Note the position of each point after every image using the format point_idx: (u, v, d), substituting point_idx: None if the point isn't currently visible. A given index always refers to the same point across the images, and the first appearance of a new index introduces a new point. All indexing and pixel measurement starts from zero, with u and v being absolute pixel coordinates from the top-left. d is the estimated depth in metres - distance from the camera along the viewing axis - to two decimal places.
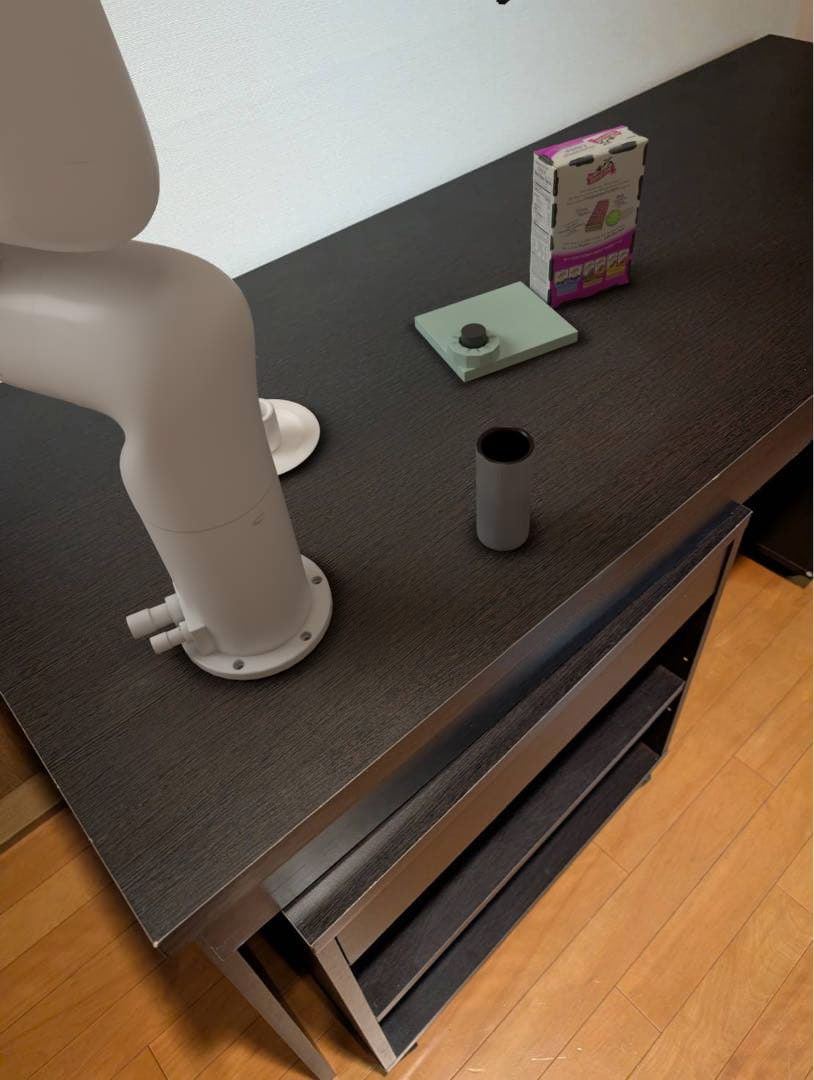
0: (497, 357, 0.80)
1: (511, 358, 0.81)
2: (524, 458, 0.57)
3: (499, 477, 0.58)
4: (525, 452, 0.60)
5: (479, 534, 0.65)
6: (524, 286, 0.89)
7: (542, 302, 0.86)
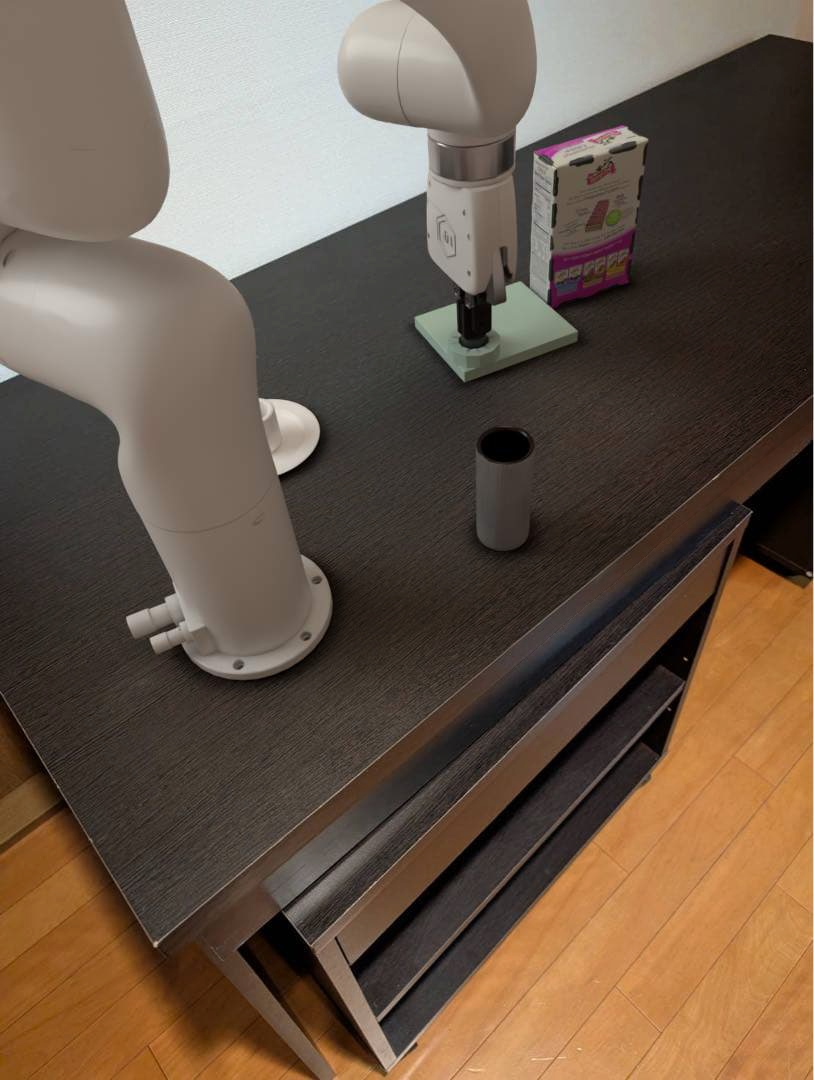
0: (497, 357, 0.80)
1: (511, 358, 0.81)
2: (524, 458, 0.57)
3: (499, 477, 0.58)
4: (525, 452, 0.60)
5: (479, 534, 0.65)
6: (524, 286, 0.89)
7: (542, 302, 0.86)
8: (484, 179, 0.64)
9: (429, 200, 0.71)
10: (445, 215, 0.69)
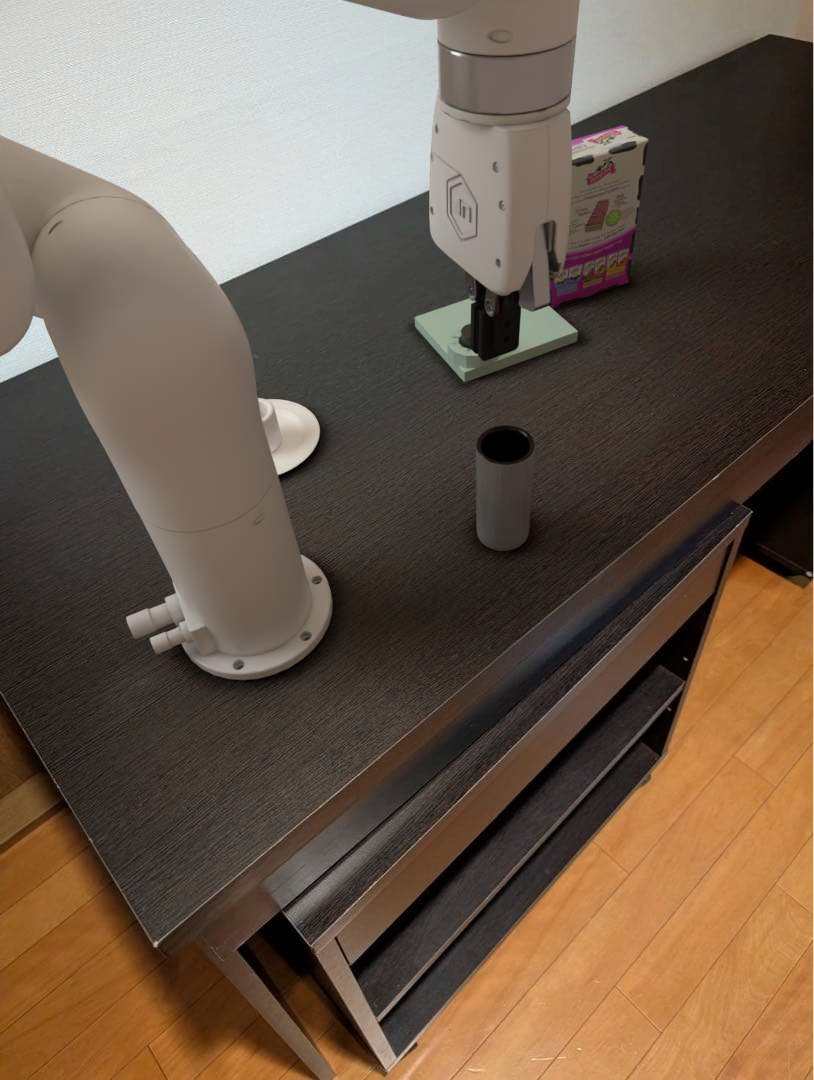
0: (497, 357, 0.80)
1: (511, 358, 0.81)
2: (524, 458, 0.57)
3: (500, 477, 0.58)
4: (525, 452, 0.60)
5: (479, 534, 0.65)
6: None
7: None
8: (528, 112, 0.41)
9: (435, 155, 0.48)
10: (462, 174, 0.46)
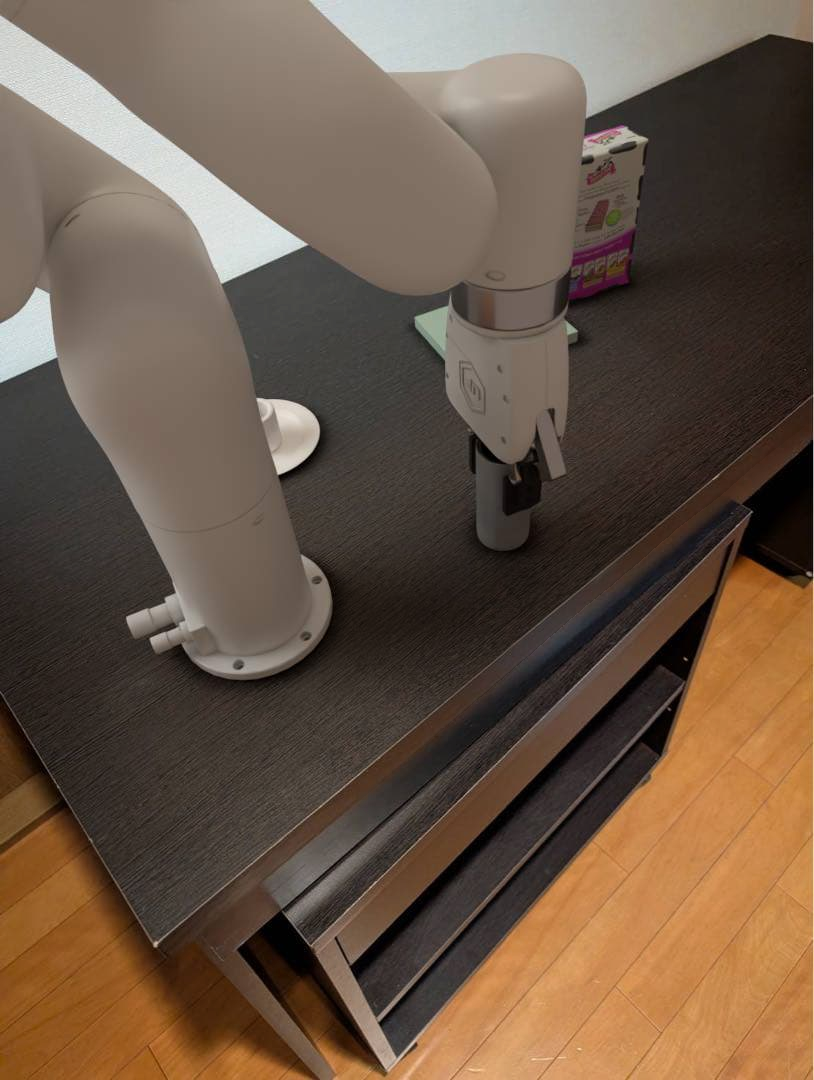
0: None
1: None
2: (524, 458, 0.57)
3: (499, 477, 0.58)
4: None
5: (479, 534, 0.65)
6: None
7: None
8: (528, 328, 0.47)
9: (449, 337, 0.54)
10: (472, 363, 0.51)
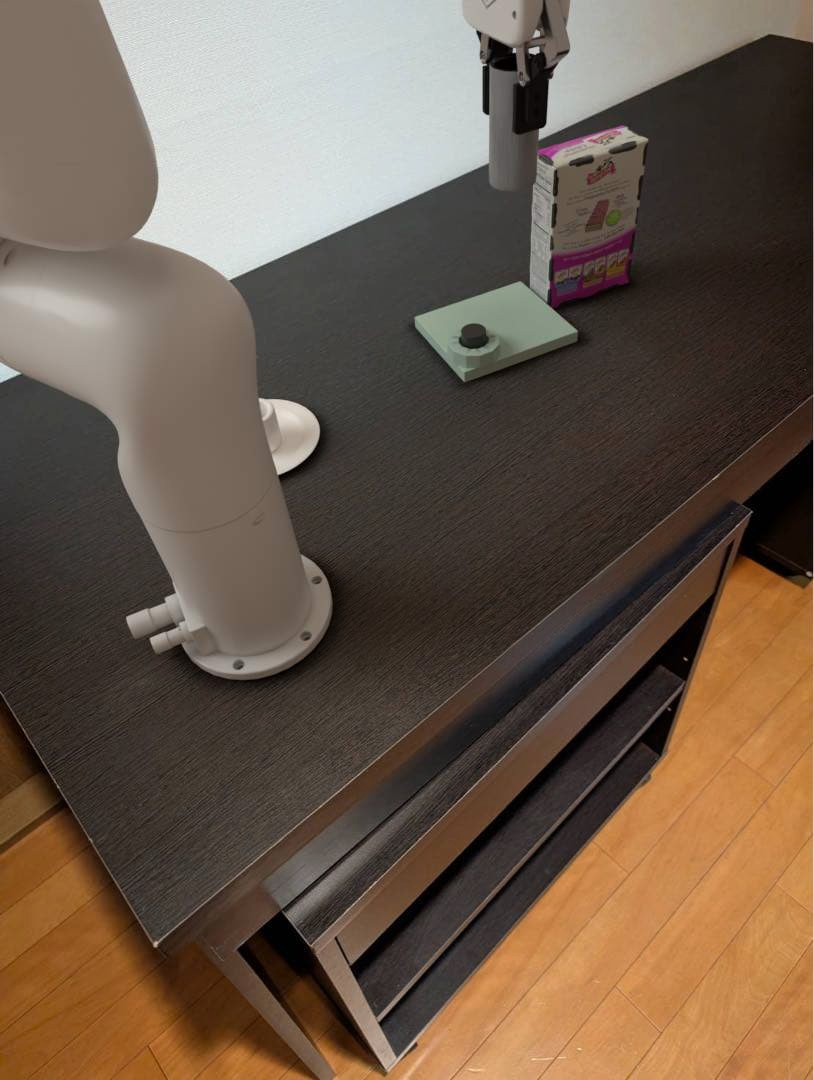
0: (497, 357, 0.80)
1: (511, 358, 0.81)
2: None
3: (511, 89, 0.65)
4: None
5: (491, 178, 0.72)
6: (524, 286, 0.89)
7: (542, 302, 0.86)
8: None
9: None
10: None
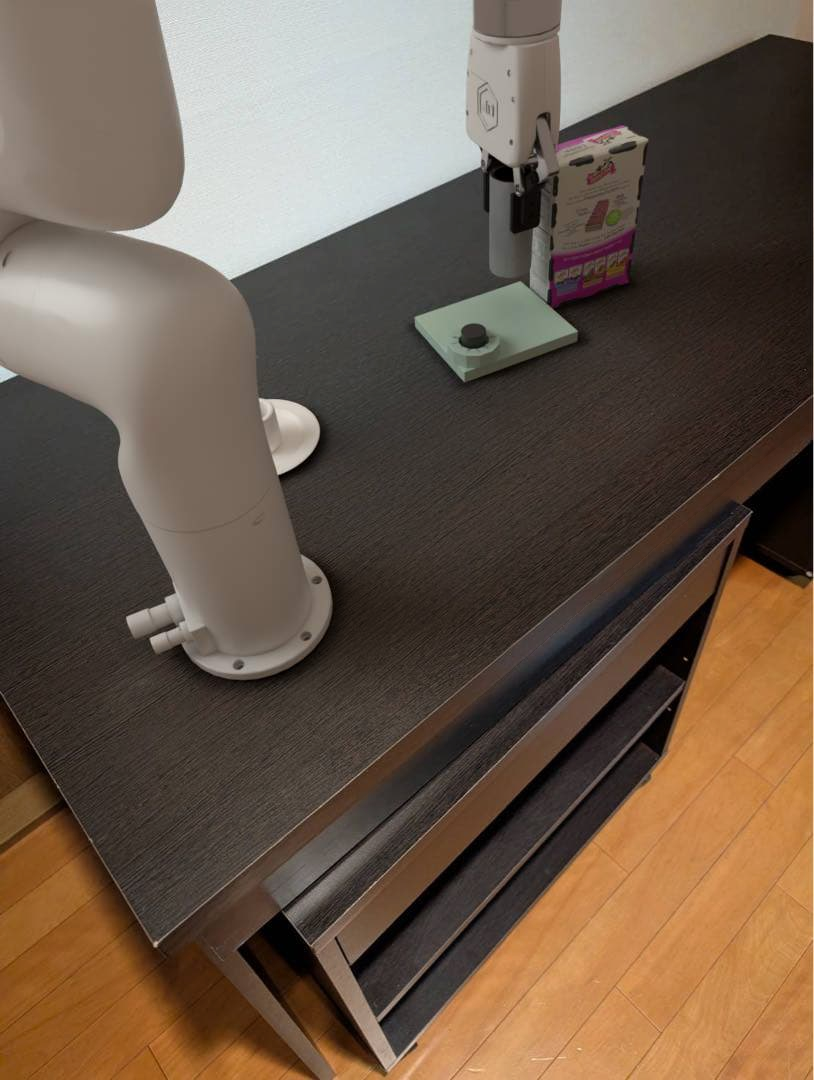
0: (497, 357, 0.80)
1: (511, 358, 0.81)
2: None
3: (508, 196, 0.75)
4: None
5: (491, 266, 0.82)
6: (524, 286, 0.89)
7: (542, 302, 0.86)
8: (530, 35, 0.63)
9: (470, 72, 0.70)
10: (487, 82, 0.68)
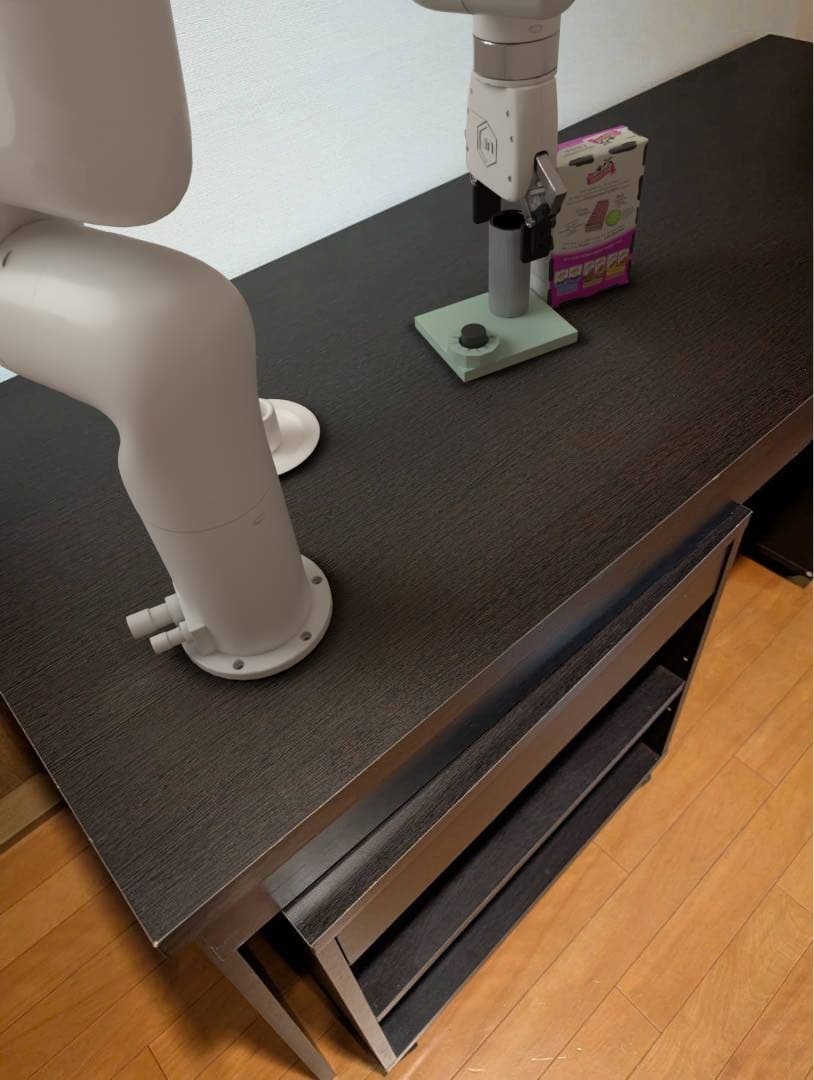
0: (497, 357, 0.80)
1: (511, 358, 0.81)
2: None
3: (507, 243, 0.78)
4: None
5: (490, 306, 0.85)
6: None
7: (542, 302, 0.86)
8: (528, 78, 0.65)
9: (470, 110, 0.73)
10: (487, 121, 0.70)
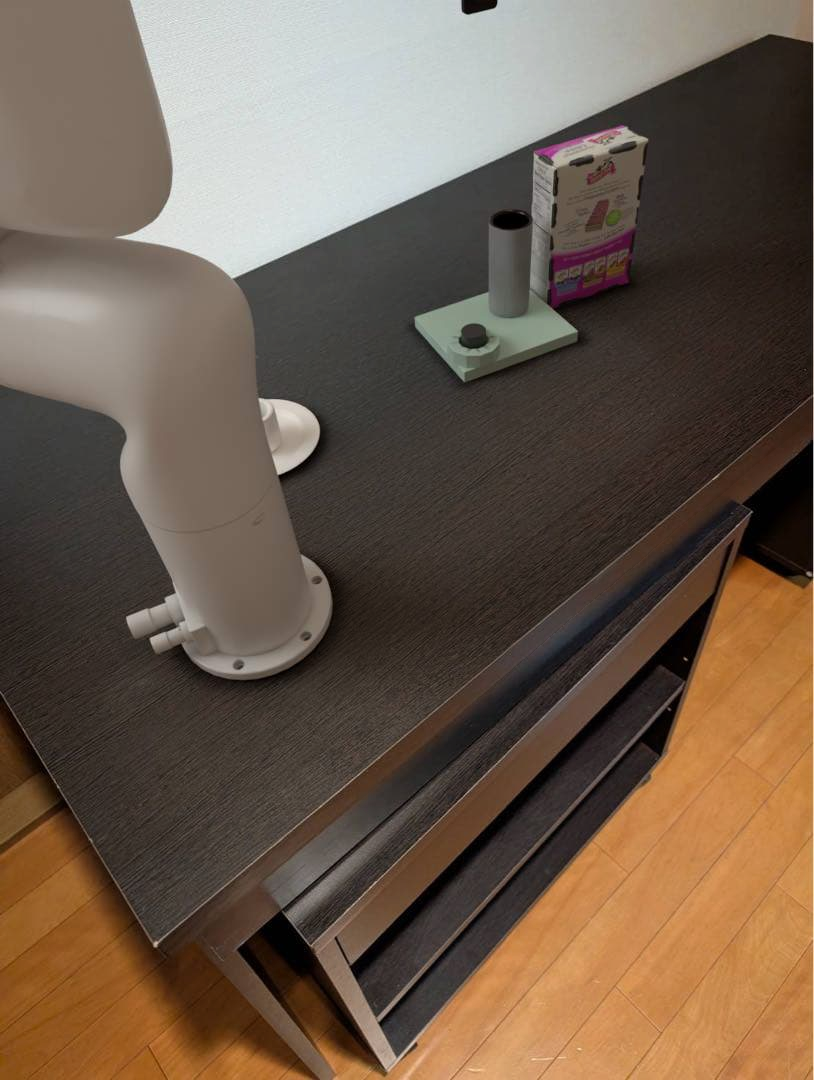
0: (497, 357, 0.80)
1: (511, 358, 0.81)
2: (525, 226, 0.77)
3: (506, 243, 0.78)
4: None
5: (490, 306, 0.85)
6: None
7: (542, 302, 0.86)
8: None
9: None
10: None
